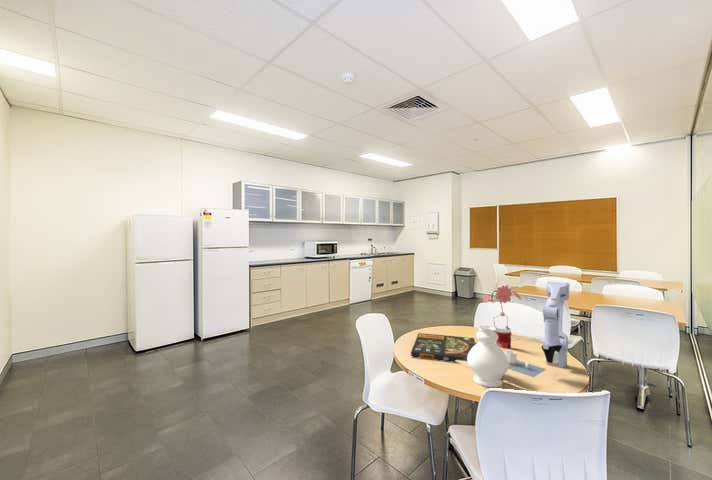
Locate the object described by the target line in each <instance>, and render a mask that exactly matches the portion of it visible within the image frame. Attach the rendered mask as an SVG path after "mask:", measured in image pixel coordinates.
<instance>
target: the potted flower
mask: <svg viewBox="0 0 712 480" xmlns="http://www.w3.org/2000/svg"><path fill="white" fill-rule="evenodd" d="M496 290H497V291H496V293H495V301H493V300H492V299H491V298H490V296H489V295H488V294H487V293H485V294H484V295H483V296H482V300H483V302H484V303H485V304H487V303H488V302H489V301H490V302H491V303H492V304H494V303H496V302H499V304H500V306H501V307H500V308H501V312H500V314H499V315H497V316H495V317H493V319H495V318H498V317H500V316H501V317H506V325H505V329H508V330H510V331H511V332H512V330H511V329H510V327H509V325H508V324H509V323H508V321H509V320H508V316H507V315H506V314H505V313H504V311H503V305H502V303H504V304H506V303H507V302H508V301H511V300H512V298H511V296H512V295H514V296H515V297H516V298H518V299H519V300H522V297H521V295H520V294H518V293H517V292H516V291H515V290H512V288H509V285H508V284H506V285H501V287H500V286H498V287H497V288H496ZM493 327H495V328H496V329H498V328H497V326H496V323H495V320H493ZM494 332H495V333H496V331H494ZM511 336H512V333H511ZM518 340H520V338H518Z"/></svg>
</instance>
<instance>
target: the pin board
mask: <svg viewBox="0 0 712 480" xmlns="http://www.w3.org/2000/svg"><path fill="white" fill-rule="evenodd" d="M508 370H512V371H514V372H517V373H519V374H522V375H526V376H528V377H532V378H534V377H536V376H538V375H539V374H541V373H542V372H543V371H546V370H547V369H546V368H543V367H541V366H537V365H534V364H532V363H530V362H527V361H526V362H524V361H521V360H518V359H517V365H515V366H512V365H509V368H508Z"/></svg>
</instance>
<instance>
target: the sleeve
mask: <svg viewBox="0 0 712 480" xmlns="http://www.w3.org/2000/svg"><path fill="white" fill-rule="evenodd" d="M544 358H545V360H544V363H545V364H546V366H549V367H554V368H559V367H558V366H559V353H558V352H557V351H555V353H554V356H553V362H552V363H549V362H547V360H546V357H544Z"/></svg>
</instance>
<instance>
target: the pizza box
mask: <svg viewBox="0 0 712 480" xmlns="http://www.w3.org/2000/svg"><path fill="white" fill-rule="evenodd" d="M475 341H476V340H475V338H474V337H468V336H467V337H466V336H455V335H443V334H432V333H431V334H430V333H421V332H418V334H417V336H416V339H415V341H414V343H413V345H412V349H411V351H410V357H411V356H413V357H412V358H414V357H421V358H420V359H423V358H429V359H428V360H432V359H437V360H436V361H440V360H445V361H444V362H449V361H453V362H452V363H457V361H466V362H468V361H467V356H468V353H469V351H470V350H471V349H472V347H473V346H474V345H476V342H475Z"/></svg>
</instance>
